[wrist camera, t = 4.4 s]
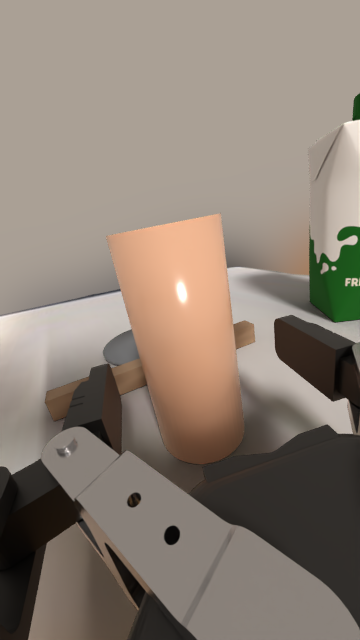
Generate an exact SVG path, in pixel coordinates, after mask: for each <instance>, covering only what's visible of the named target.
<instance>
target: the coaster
mask: <svg viewBox="0 0 360 640" xmlns="http://www.w3.org/2000/svg"><path fill="white" fill-rule="evenodd" d="M103 354H104V357H105V359H106V361H107V362H109V363H111V364H113V365H118V366H119V365H122V364H125V363H128V362H131V361H133V360H136V359H139V358H140V357H139V353H138V350H137V346H136V342H135V339H134V335H133V332H132V329H131V330H129V331H126V332H124V333H122V334H120V335H118V336H117V337H115V338H114V339H112V340H111V341H110V342H109V343H108V344H107V345H106V346H105V348H104V350H103Z"/></svg>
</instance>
